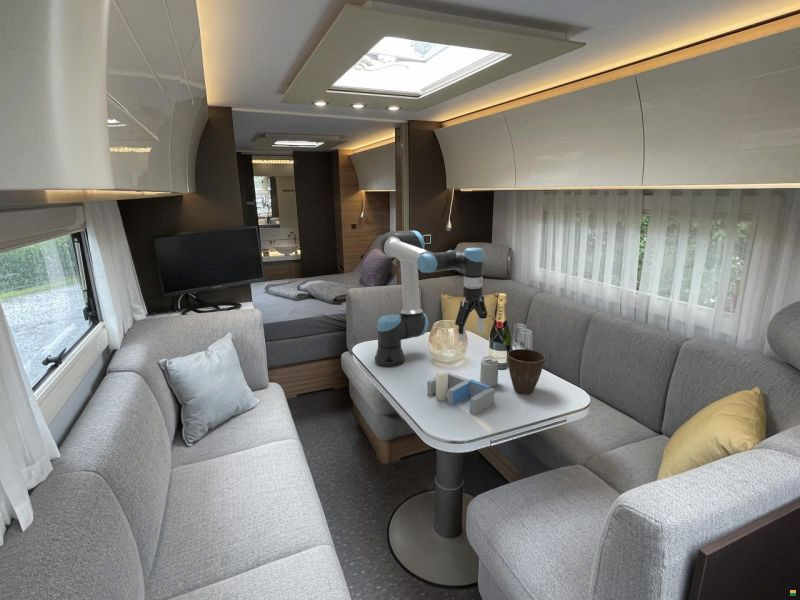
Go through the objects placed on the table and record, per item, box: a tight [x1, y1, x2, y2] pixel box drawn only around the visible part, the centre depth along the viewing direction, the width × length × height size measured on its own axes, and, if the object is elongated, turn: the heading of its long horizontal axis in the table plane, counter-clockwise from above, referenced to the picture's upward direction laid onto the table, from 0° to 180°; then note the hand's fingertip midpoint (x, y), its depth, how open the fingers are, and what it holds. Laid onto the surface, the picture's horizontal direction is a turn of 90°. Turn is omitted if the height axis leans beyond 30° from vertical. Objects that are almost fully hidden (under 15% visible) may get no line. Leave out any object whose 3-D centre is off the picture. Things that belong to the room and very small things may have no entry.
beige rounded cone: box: [435, 370, 449, 402], centre depth 161 cm, size 5×5×11 cm
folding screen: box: [426, 371, 496, 416], centre depth 161 cm, size 24×13×7 cm, turn 44°
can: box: [479, 355, 499, 388], centre depth 173 cm, size 8×8×12 cm
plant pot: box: [507, 348, 546, 395], centre depth 166 cm, size 15×15×16 cm
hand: (471, 336), depth 165 cm, fingers open, 13 cm apart
